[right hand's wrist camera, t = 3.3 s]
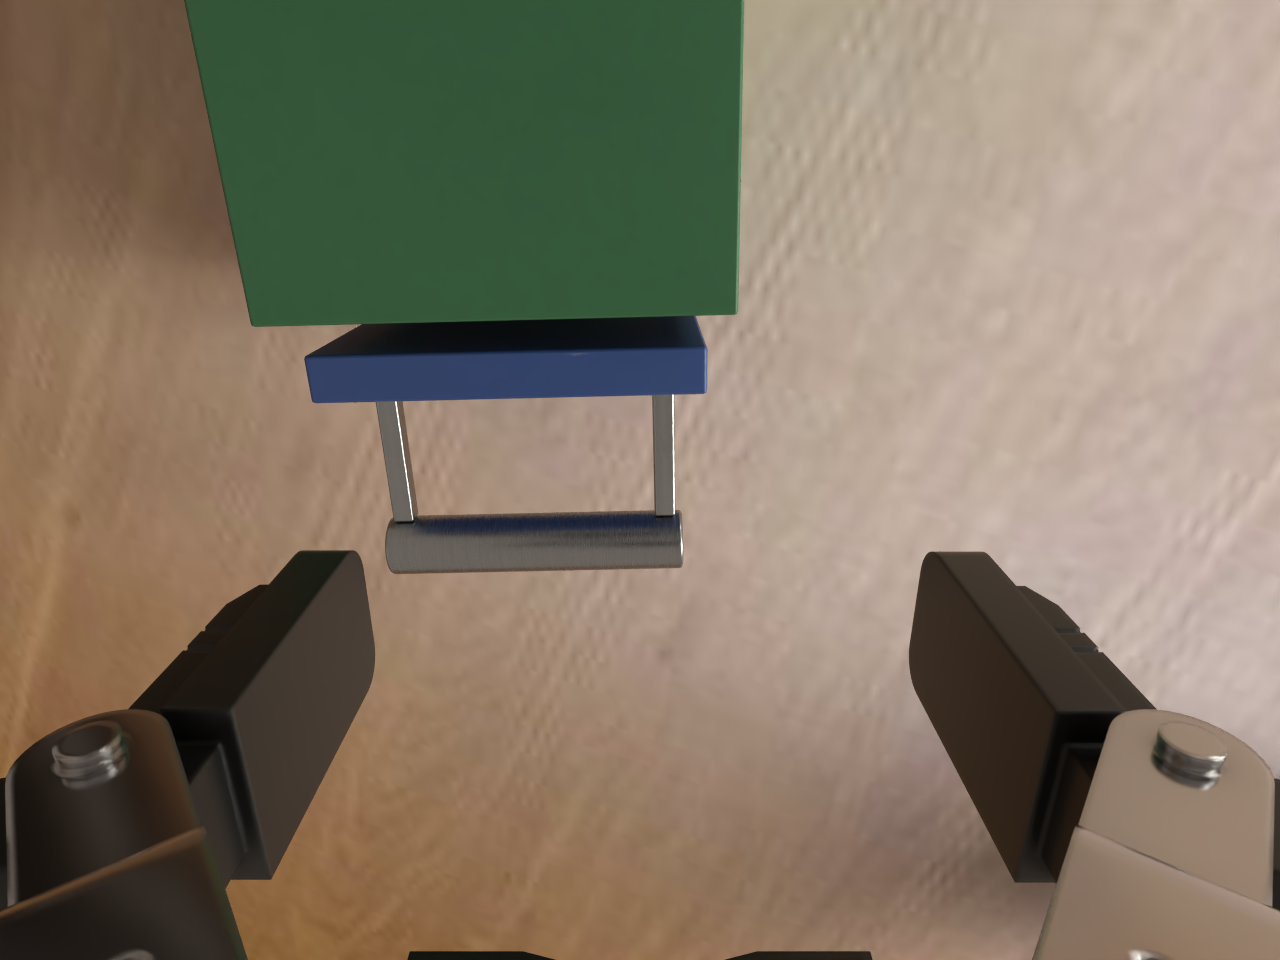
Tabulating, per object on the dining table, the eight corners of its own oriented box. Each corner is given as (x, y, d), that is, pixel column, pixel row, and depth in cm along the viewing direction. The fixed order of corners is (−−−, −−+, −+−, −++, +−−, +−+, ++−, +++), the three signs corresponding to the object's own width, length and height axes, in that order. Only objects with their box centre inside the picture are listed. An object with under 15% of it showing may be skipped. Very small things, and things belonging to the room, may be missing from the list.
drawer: (687, 481, 30) (706, 609, 22) (435, 486, 31) (350, 617, 22) (684, -368, 21) (713, -745, 13) (324, -356, 22) (103, -721, 13)
